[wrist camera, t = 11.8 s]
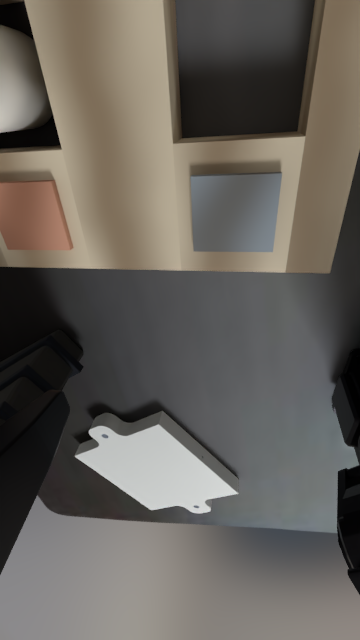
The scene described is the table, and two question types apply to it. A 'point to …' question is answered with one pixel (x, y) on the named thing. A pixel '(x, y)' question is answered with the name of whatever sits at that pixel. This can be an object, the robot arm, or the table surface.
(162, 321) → the table surface
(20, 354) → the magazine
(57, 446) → the robot arm
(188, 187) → the socket board
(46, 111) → the plug
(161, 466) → the mounting plate
